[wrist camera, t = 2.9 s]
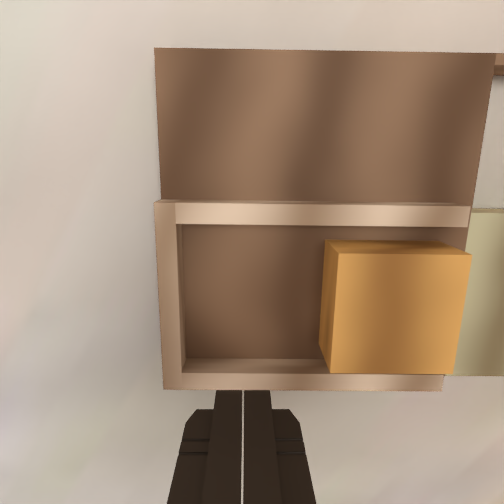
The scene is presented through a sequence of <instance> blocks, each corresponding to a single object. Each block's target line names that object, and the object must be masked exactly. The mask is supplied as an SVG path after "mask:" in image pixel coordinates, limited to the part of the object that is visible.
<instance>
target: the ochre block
mask: <svg viewBox="0 0 504 504" xmlns="http://www.w3.org/2000/svg"><path fill="white" fill-rule="evenodd" d="M471 261H472V255H471V254H469V253H467V252H464V251H462V250H459V249H457V248H455V247H452V246H450V245H447V244H445V243H443V242H440V241H409V240H325V249H324V265H323V281H322V297H321V313H320V329H319V346H320V348H321V351H322V354H323V356H324V359H325V361H326V364H327V367H328V369H329V372H330V373H362V374H453V370H454V364H455V358H456V352H457V346H458V340H459V334H460V328H461V322H462V316H463V309H464V303H465V297H466V291H467V285H468V279H469V273H470V267H471Z"/></svg>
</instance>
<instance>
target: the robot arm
mask: <svg viewBox="0 0 504 504" xmlns="http://www.w3.org/2000/svg"><path fill="white" fill-rule="evenodd" d="M241 458H242V390H216V396H215V404H214V409H196V411H195V412H194V413H193V414H192V416H191V417H190V418H189V419H188V421H187V422H186V424H185V428H184V432H183V437H182V442H181V445H180V449H179V456H178V458H177V462H176V467H175V471H174V475H173V480H172V484H171V488H170V492H169V497H168V501H167V504H241ZM243 504H316V500H315V495H314V491H313V486H312V481H311V476H310V471H309V466H308V462H307V457H306V453H305V447H304V442H303V437H302V432H301V428H300V423H299V421H298V420H297V419H296V417H295V416H294V415H293V414H292V412H291V411H290V410H289V409H272V406H271V396H270V390H244V491H243Z"/></svg>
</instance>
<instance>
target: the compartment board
mask: <svg viewBox="0 0 504 504" xmlns="http://www.w3.org/2000/svg"><path fill="white" fill-rule="evenodd" d="M154 55H155V76H156V97H157V119H158V140H159V161H160V182H161V200H159V201H156V202H154V216H155V235H156V254H157V273H158V293H159V312H160V331H161V350H162V369H163V388H164V389H173V390H317V391H442V385H443V378H444V376H504V209H483V208H472V204H473V198H474V192H475V186H476V179H477V173H478V167H479V160H480V154H481V148H482V142H483V135H484V129H485V123H486V116H487V110H488V104H489V98H490V91H491V85H492V79H493V75H504V53H445V52H384V51H323V50H262V49H201V48H154ZM325 240H409V241H440V242H443V243H445V244H447V245H450V246H452V247H455V248H457V249H459V250H462V251H464V252H467V253H469V254H471V255H472V261H471V267H470V273H469V279H468V285H467V291H466V297H465V303H464V309H463V316H462V322H461V328H460V334H459V340H458V346H457V352H456V358H455V364H454V370H453V374H362V373H330V372H329V369H328V367H327V364H326V361H325V359H324V356H323V354H322V351H321V348H320V346H319V329H320V313H321V297H322V281H323V265H324V249H325Z"/></svg>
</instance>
